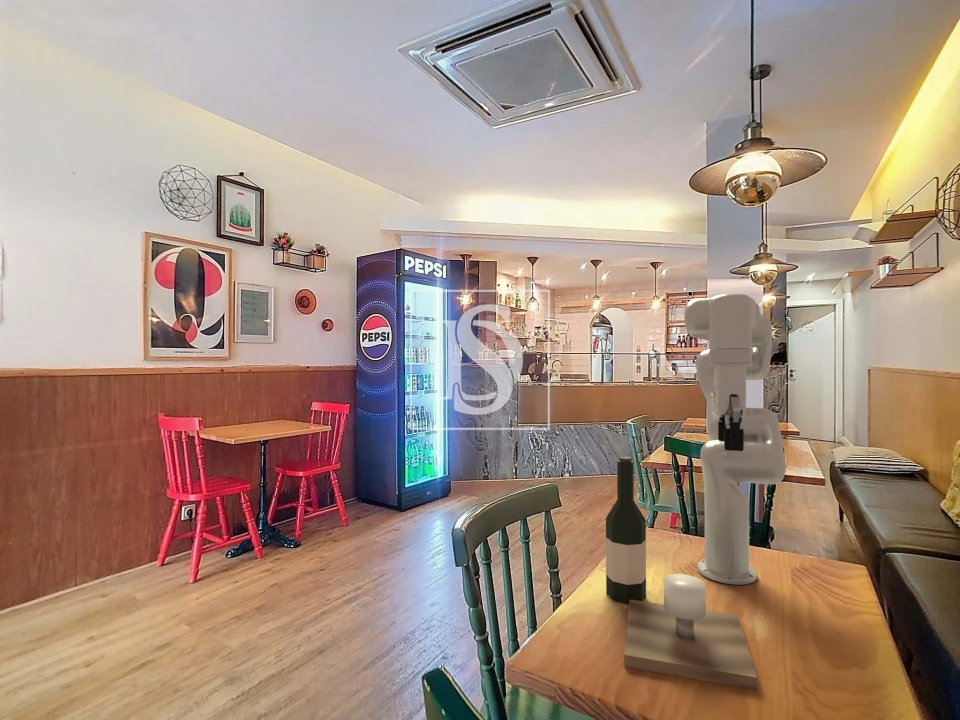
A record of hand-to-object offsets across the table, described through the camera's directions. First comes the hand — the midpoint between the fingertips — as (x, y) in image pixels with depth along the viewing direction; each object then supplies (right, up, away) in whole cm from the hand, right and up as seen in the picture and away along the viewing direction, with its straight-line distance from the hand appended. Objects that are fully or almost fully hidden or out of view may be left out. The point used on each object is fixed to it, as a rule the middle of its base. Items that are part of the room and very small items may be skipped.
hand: (730, 445), depth 101 cm
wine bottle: (-17, -35, +11) cm, 40 cm away
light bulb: (-12, -28, -7) cm, 31 cm away
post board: (-12, -35, -8) cm, 37 cm away
